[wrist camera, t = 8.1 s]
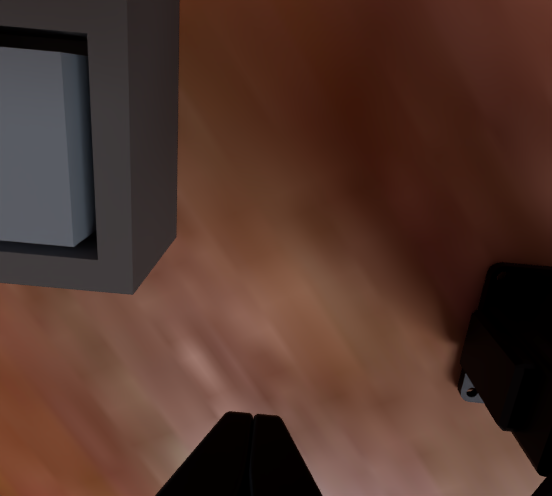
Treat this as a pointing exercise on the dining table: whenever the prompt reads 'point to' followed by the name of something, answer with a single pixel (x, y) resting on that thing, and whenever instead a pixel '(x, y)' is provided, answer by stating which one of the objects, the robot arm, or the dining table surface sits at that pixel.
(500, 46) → the dining table surface
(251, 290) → the dining table surface
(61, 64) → the slate blue button
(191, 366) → the dining table surface
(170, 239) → the button board
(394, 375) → the dining table surface
